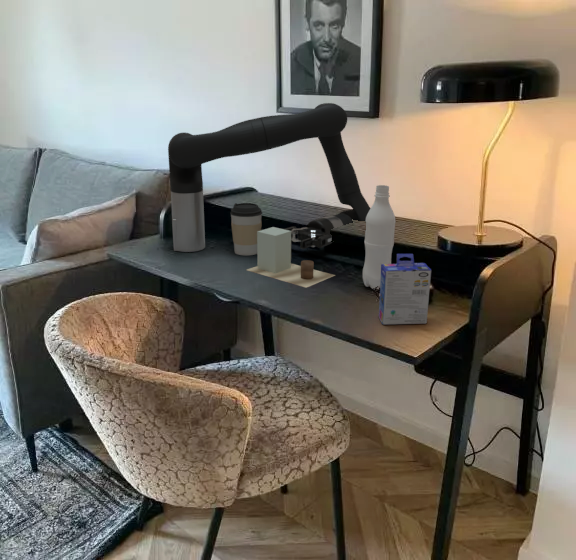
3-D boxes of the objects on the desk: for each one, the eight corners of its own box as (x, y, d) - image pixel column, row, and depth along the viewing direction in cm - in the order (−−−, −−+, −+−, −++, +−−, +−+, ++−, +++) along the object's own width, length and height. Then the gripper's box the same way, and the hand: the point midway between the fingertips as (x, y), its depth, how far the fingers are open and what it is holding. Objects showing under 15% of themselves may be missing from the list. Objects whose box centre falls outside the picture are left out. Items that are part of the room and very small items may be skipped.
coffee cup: (264, 251, 178) (264, 201, 173) (260, 261, 169) (259, 208, 164) (234, 250, 178) (233, 200, 173) (228, 259, 170) (226, 207, 165)
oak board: (246, 274, 158) (245, 255, 157) (276, 263, 167) (276, 245, 165) (306, 292, 146) (306, 271, 145) (335, 279, 155) (336, 260, 153)
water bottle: (394, 291, 148) (401, 189, 139) (364, 291, 147) (370, 189, 139) (387, 281, 154) (394, 183, 146) (359, 281, 154) (364, 183, 146)
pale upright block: (257, 268, 159) (257, 231, 156) (273, 262, 164) (273, 227, 160) (275, 273, 156) (275, 235, 152) (290, 267, 160) (291, 231, 157)
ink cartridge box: (420, 314, 134) (426, 251, 129) (428, 324, 129) (434, 259, 124) (376, 315, 133) (380, 252, 129) (382, 325, 128) (386, 260, 123)
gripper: (305, 213, 177) (268, 224, 165) (346, 222, 168) (310, 233, 157) (305, 238, 179) (268, 250, 168) (344, 247, 171) (309, 261, 159)
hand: (288, 242), depth 162 cm, fingers open, 8 cm apart
